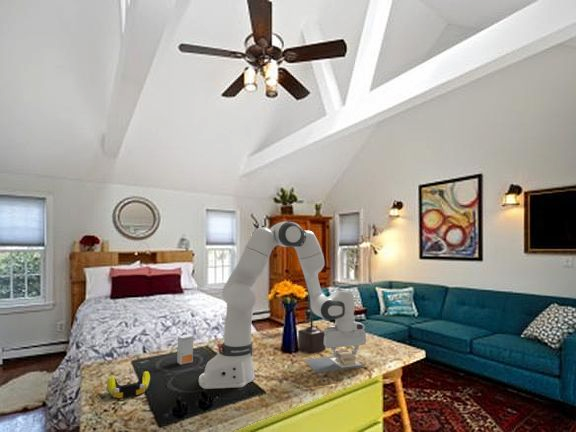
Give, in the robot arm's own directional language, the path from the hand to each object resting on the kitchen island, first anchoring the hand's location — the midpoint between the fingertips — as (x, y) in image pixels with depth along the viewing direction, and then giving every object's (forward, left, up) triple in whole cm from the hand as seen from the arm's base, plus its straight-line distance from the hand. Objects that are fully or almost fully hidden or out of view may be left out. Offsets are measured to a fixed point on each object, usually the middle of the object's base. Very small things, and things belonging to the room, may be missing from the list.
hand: (344, 355), depth 161 cm
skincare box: (-70, +23, -3) cm, 74 cm away
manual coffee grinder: (-8, +25, -4) cm, 26 cm away
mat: (-6, 0, -3) cm, 7 cm away
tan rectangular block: (0, 0, -3) cm, 3 cm away
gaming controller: (-90, -2, -4) cm, 91 cm away
